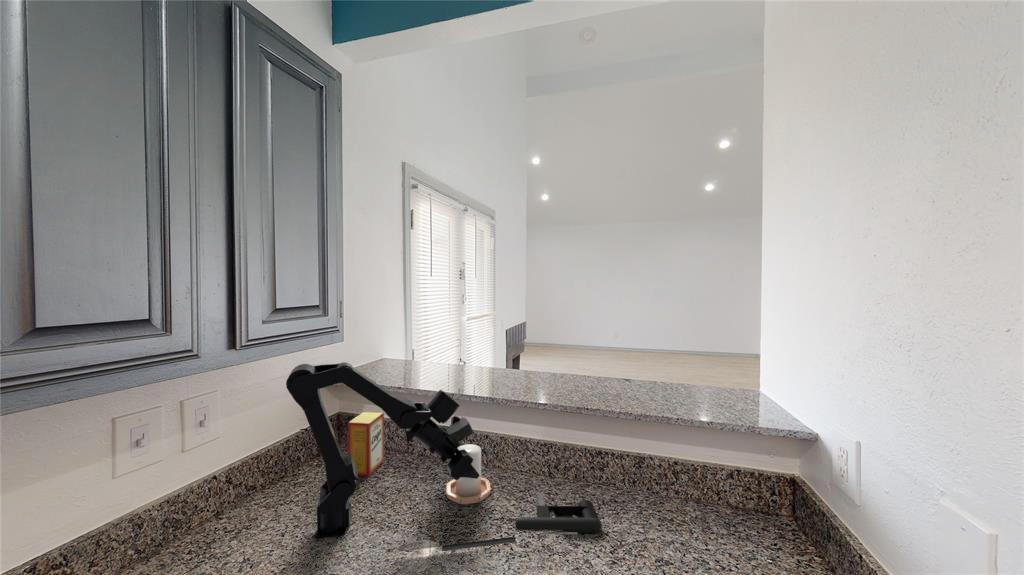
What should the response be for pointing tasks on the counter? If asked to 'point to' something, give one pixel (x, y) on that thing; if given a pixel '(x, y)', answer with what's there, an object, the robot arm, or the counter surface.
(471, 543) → the dark grey flat plate
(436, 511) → the counter surface
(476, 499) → the dish
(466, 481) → the white smooth rounded cylinder
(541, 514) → the door handle
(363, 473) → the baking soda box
